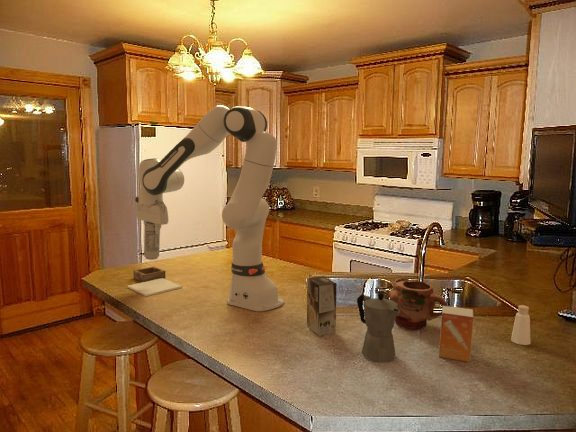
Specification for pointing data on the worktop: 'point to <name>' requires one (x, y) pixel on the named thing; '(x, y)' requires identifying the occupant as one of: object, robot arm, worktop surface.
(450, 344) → the small box
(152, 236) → the energy drink can
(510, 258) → the worktop surface
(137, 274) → the holder
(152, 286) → the tile
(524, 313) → the salt shaker
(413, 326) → the decorative planter
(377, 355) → the coffeepot
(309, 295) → the coffee box
